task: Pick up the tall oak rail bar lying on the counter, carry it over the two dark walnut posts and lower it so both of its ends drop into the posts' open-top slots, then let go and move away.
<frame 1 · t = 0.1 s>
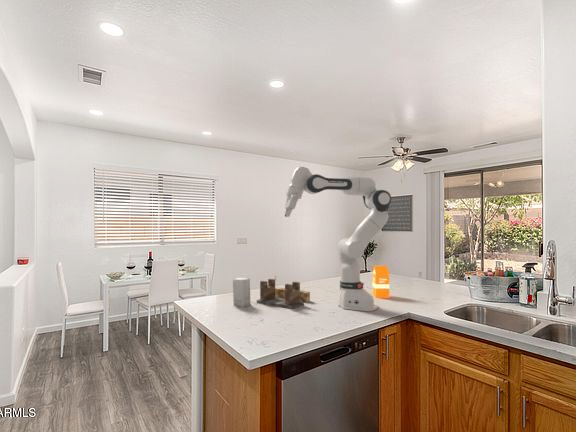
hand: (286, 216, 181), 52 cm above the counter, tool tilted 20°, fingers open, 8 cm apart
oak rail: (291, 299, 200), on the counter
slotted posts: (279, 303, 189), on the counter
orange juice: (380, 296, 207), on the counter
skincare box: (241, 305, 186), on the counter
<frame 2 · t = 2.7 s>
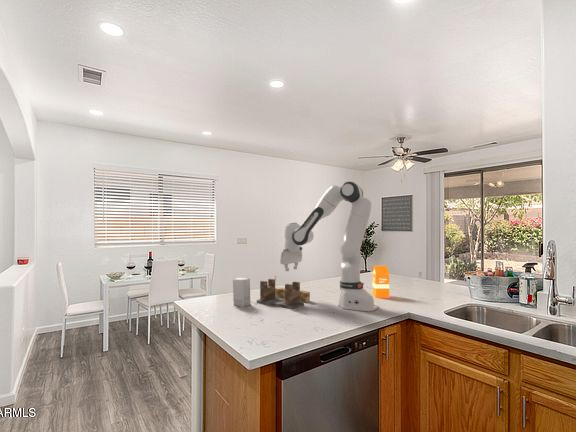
hand: (291, 270, 201), 18 cm above the counter, tool pointing down, fingers open, 8 cm apart
nothing on the counter moved.
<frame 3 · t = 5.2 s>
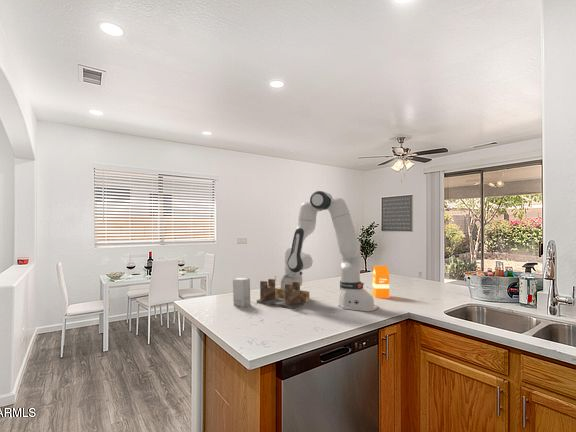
hand: (291, 295, 200), 2 cm above the counter, tool pointing down, fingers closed on oak rail, 4 cm apart
oak rail: (291, 299, 200), on the counter, touching gripper
everything else where it was.
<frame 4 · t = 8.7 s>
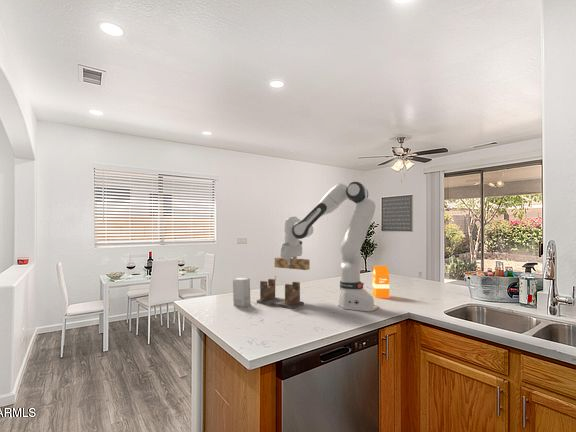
hand: (291, 264, 201), 22 cm above the counter, tool pointing down, fingers closed on oak rail, 4 cm apart
oak rail: (291, 268, 201), point 19 cm above the counter, touching gripper
everything else where it was.
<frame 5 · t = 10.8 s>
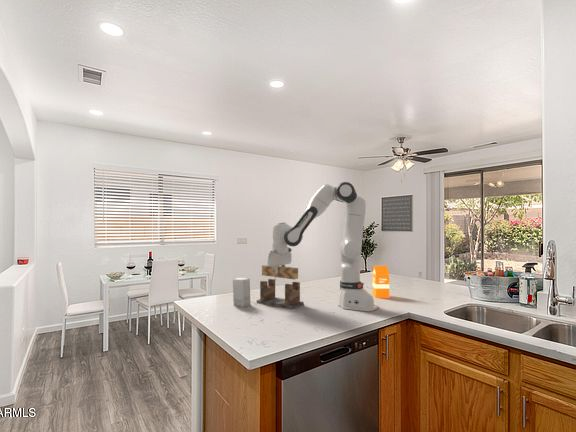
hand: (279, 272, 190), 18 cm above the counter, tool pointing down, fingers closed on oak rail, 4 cm apart
oak rail: (279, 276, 190), point 16 cm above the counter, touching gripper
everything else where it was.
when the fingers open (13 cm above the counter, at t = 12.7 s): oak rail drops 1 cm, resting on slotted posts.
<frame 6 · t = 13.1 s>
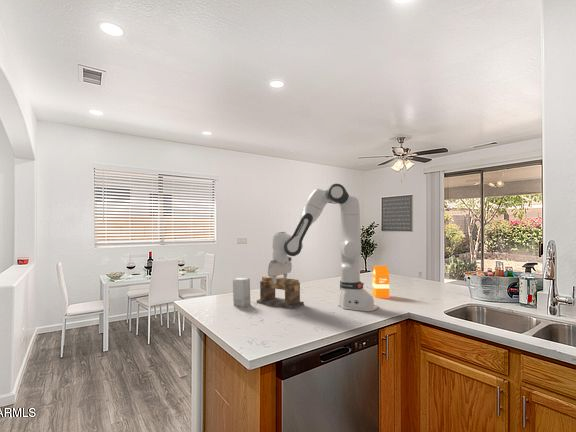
hand: (279, 282, 190), 13 cm above the counter, tool pointing down, fingers open, 8 cm apart
oak rail: (279, 288, 190), point 9 cm above the counter, touching slotted posts
everything else where it was.
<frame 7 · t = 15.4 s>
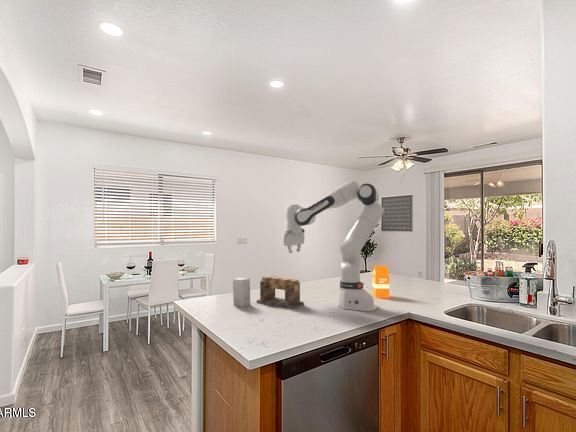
hand: (294, 252, 200), 30 cm above the counter, tool pointing down, fingers open, 8 cm apart
nothing on the counter moved.
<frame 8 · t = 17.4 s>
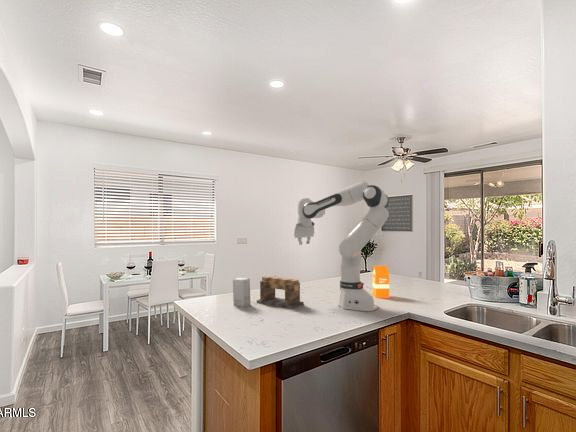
hand: (304, 244, 208), 34 cm above the counter, tool pointing down, fingers open, 8 cm apart
nothing on the counter moved.
at the end: oak rail 0.0 cm off-centre on the slotted posts, point 9.0 cm above the slotted posts's base; oak rail tilted 0°; the gripper is holding nothing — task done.
